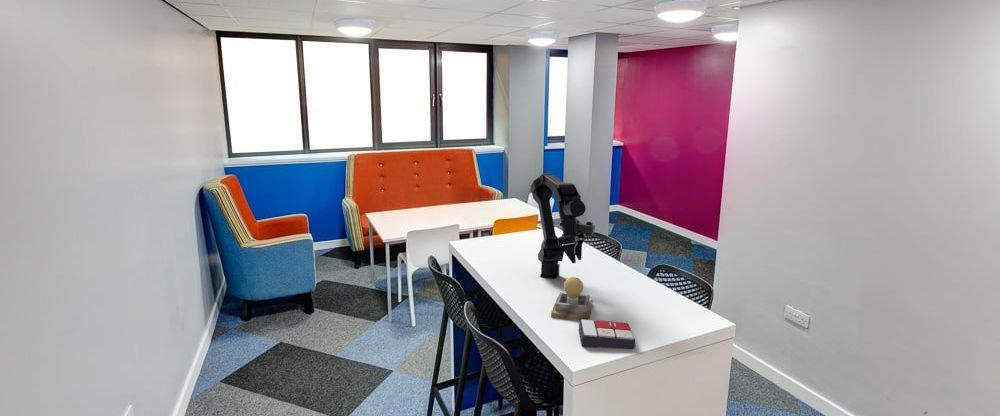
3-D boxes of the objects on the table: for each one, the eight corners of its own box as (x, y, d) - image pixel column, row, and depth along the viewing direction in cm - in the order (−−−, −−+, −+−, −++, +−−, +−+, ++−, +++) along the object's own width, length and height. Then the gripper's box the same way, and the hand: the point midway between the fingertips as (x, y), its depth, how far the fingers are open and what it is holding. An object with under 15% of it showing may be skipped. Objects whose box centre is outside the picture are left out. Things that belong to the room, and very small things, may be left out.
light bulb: (583, 303, 174) (585, 275, 172) (580, 311, 168) (581, 282, 166) (565, 301, 176) (566, 273, 174) (560, 308, 170) (562, 279, 168)
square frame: (551, 316, 167) (551, 305, 166) (557, 300, 180) (558, 289, 179) (588, 321, 164) (589, 309, 163) (592, 304, 177) (593, 293, 176)
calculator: (636, 338, 146) (583, 333, 147) (634, 352, 147) (581, 347, 148) (629, 321, 157) (579, 317, 158) (627, 334, 158) (578, 330, 159)
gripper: (584, 215, 173) (594, 261, 172) (595, 212, 190) (604, 254, 189) (553, 221, 177) (562, 266, 176) (566, 218, 194) (574, 259, 194)
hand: (577, 261), depth 184 cm, fingers open, 9 cm apart
